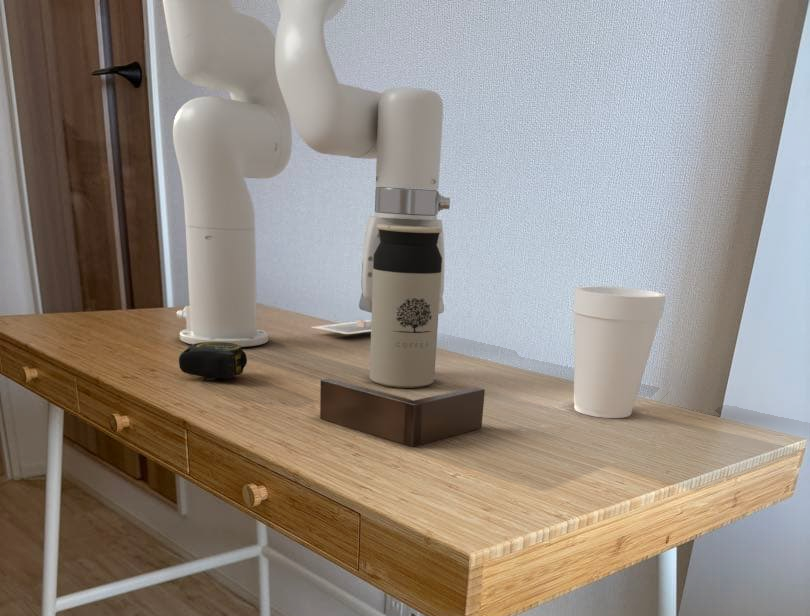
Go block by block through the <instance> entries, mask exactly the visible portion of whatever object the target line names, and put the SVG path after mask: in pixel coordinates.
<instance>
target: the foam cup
mask: <svg viewBox="0 0 810 616" xmlns="http://www.w3.org/2000/svg"><path fill="white" fill-rule="evenodd" d="M666 297H667V295H666V294H665V293H663V292H659V291H655V290H649V289H641V288H634V287H633V288H632V287H620V286H607V285H606V286H604V285H603V286H602V285H585V286H583V285H582V286H577V287H574V293H573V302H572V309H571V310H572V312H573V403H574V406H573V407H574V408H573V409H574V410H575V411H576V412H578V413H580V414H583V415H585V416H590V417H595V418H604V419H622V418H628V417H630V416H631V415H632V412H633V409H634V407H635V404H636V400H637V397H638V395H639V390H640V386H641V383H642V380H643V377H644V374H645V370H646V367H647V364H648V360H649V357H650V353H651V350H652V347H653V344H654V341H655V337H656V334H657V331H658V327H659V324H660V320H661V319H663V315H664V311H665V303H666Z"/></svg>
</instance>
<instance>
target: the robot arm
mask: <svg viewBox="0 0 810 616" xmlns="http://www.w3.org/2000/svg"><path fill="white" fill-rule="evenodd" d="M275 1H276V4H277V8H278V11H279V15H280V19H279V22H278V25H277V28H276V34H275V35H274V33H273V32H272V29H270V27H268V25H266V24H265V23H264V22H263V21H262V20H260V19H258V18H256V17H253V16H251V15H249V14H245V13H241V12H238V11H236V9H235V8H234V6H233V3H232V0H162V6H163V11H164V12H163V13H164V18H165V23H166V30H167V37H168V41H169V47H170V52H171V57H172V61H173V65H174V67H175V70H176V71H177V73H178V75H179V76H180V77H181V78H182V79H183V80H184V81H186V82H187V83H190V84H192V85H195V86H198V87H202V88H207V89H212V90H216V91H217V90H218V91H223V92H228V93H229V95H230V98H225V97H220V96H208V95H207V96H199V97H195V98H192V99H190V100H188V101H186V102H185V103H184V104H183V105H182V106H181V107H180V108H179V109H178V110H177V113H176V115H175V117H174V120H173V125H172V140H173V148H174V152H175V157H176V160H177V164H178V169H179V174H180V179H181V186H182V195H183V208H184V209H183V210H184V224H185V226H184V227H185V243H186V244H185V245H186V263H187V278H188V279H187V282H188V283H187V284H188V286H187V287H188V300H189V301H188V303H189V305H185V306H184V307H183V310H182V309H179V310H177V312H176V318H177V319H178V320H181V321H186V328H184V329H182V330H181V331H180V332H179V340H180V341H181V342H183V343H186V344H188V345H193V344H196V343H201V342H228V343H234V344H238V345H240V346H241V347H242V348H249V347H256V346H261V345H264V344H266V343H268V342H269V333H268V332H267V331H264V330H262V329H258V308H257V307H258V303H257V302H258V301H257V254H256V253H257V252H256V250H257V247H256V242H257V241H256V216H255V215H256V213H255V207H254V202H253V198H252V195H251V192H250V190H249V187H248V185H247V182H246V179H259V180H260V179H262V180H263V179H271V178H274V177H276V176H279V175H280V174H281V173H282V172H283V171H284V170H285V169H286V167H287V165H288V164H289V161H290V159H291V155H292V150H293V149H292V148H293V132H292V124H293V127H294V129H295V130H296V132H297V134H298V136H299V137H300V139H301V140H302V141H303V142H304V144H305V145H306V146H307V147H309V148H310V149H311V150H313V151H314V152H317V153H319V154H322V155H329V156H338V157H349V158H355V159H363V160H364V159H365V160H374V159H376V162H375V163H376V164H375V191H374V192H375V194H374V195H375V196H374V215H368V216H367V221H366V226H365V231H364V240H363V241H364V242H363V249H362V250H363V251H362V264H361V279H360V281H361V295H360V298H359V302H358V308H359V309H360V310H361V311H365V312H367V313H371V314H372V291H373V262H374V253H375V251H376V249H377V247H378V246H379V244H380V242H381V241H380V235H379V229H377V225H378V224H402V225H421V226H433V227H440V228H441V229H442V231H441V232H440V234H439V237H438V242H437V247H438V249H439V252H440V254H441V257H442V267H441V283H440V298H439V313H438V315H441V314H443V313H444V311H445V305H444V299H443V296H444V288H445V238H444V237H445V236H444V235H445V234H444V226H443V220H442V219H439V218H438V215H439V213H440V212H441V211H444V210H450V207H451V206H450V205H451V197H447V196H444V195H442V194H440V191H438V190H439V186H440V171H441V157H442V156H441V153H442V139H443V137H442V135H443V123H444V122H443V121H444V120H443V119H444V103H443V99H442V97H441V95H440V94H439V93H437V92H436V91H433V90H430V89H425V88H418V87H393V88H388V89H385V90H384V91H383V92H380V91H375V90H369V89H366V88H362V87H357V86H352V85H348V84H344V83H340V82H339V81H338V78H337V75H336V72H335V69H334V67H333V64H332V62H331V58H330V55H329V52H328V48H327V45H326V41H325V40H326V39H325V33H324V32H325V31H324V30H325V29H324V27H325V26H324V25H325V24H326V23H327V22H329V21H331V20H332V19H333V18H334V17H335V16H337V15H338V14H339V13H340V12H341V10H342V9H343V8H344V7H345V6H346V3H347V0H275ZM291 122H292V123H291Z"/></svg>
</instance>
